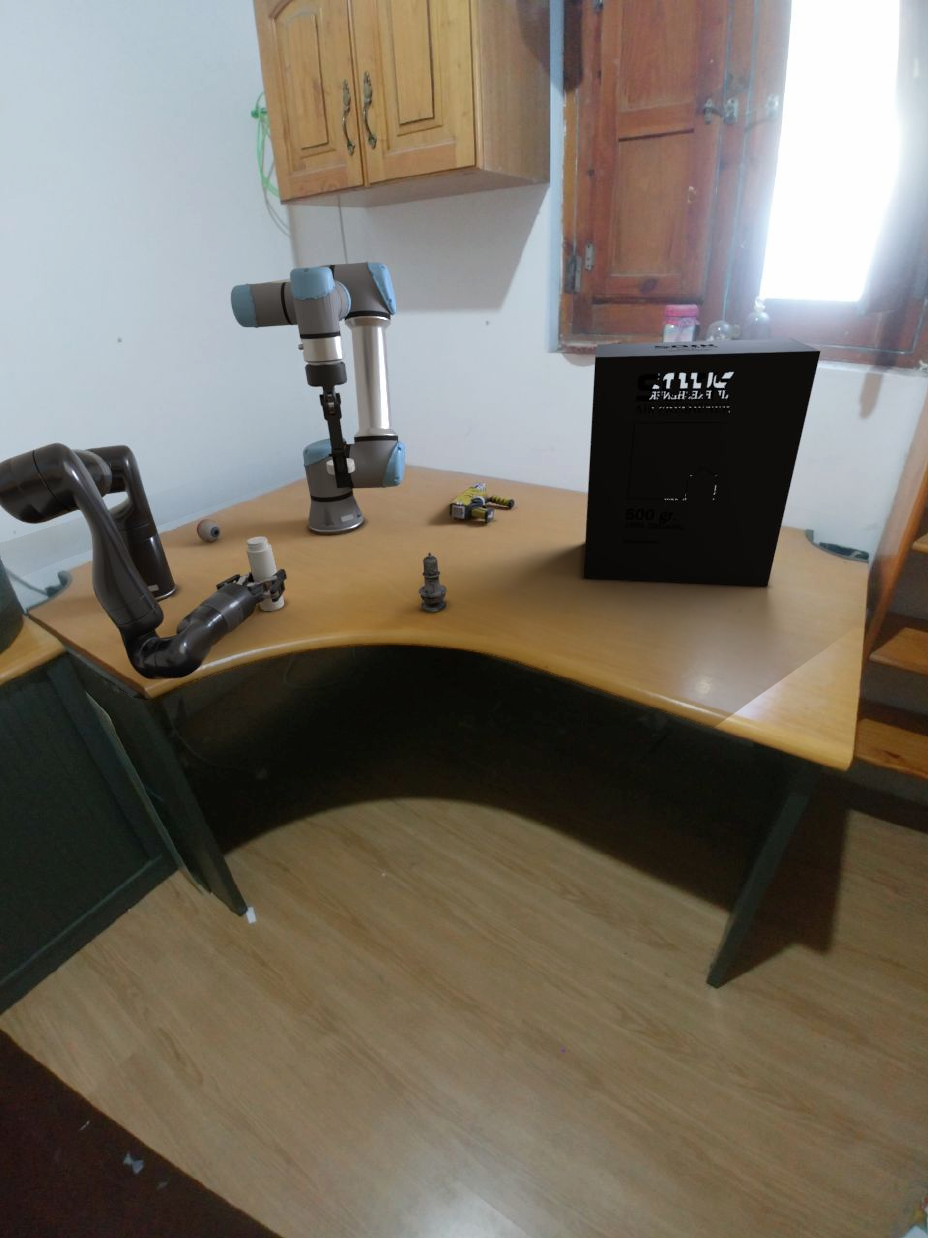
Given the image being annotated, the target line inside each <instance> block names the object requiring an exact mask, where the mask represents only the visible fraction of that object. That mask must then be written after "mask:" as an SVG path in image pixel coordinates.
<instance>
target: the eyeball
mask: <svg viewBox="0 0 928 1238" xmlns="http://www.w3.org/2000/svg"><path fill="white" fill-rule="evenodd" d="M196 534H197V536H198V538H199V539H201V540H202V541H204V542H208V543H209V542H211V543H212V542H215V541H216V540H218V539H219V538H220V536H221V534H222V529H221V526H220V524H219V523H218V522H217V521H216V520H214V519H211V518H206V519H203V520H200V521H199V522H198V524H197V526H196Z"/></svg>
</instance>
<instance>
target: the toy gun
mask: <svg viewBox="0 0 928 1238" xmlns="http://www.w3.org/2000/svg"><path fill="white" fill-rule="evenodd" d="M486 491H487V484H486V483H485V482H480V481H477V482H475V483H474V484H473V485H472V486H469V487H468V488H467V489H466V490H465V491H463V492H462V493H461V494H459V496H457V497H456V498H455V499H453V500H452V501H451V502H450V503H449V505H448V506H449V507H448V516H450V518H453V519H454V520H456V519H457V520H459V521H460V520H461V519H462V520H469V519H473V518H478V519H482V520H484V523H489V522H490V521H492V520H494V516H495V515H494V514H495V507H492V506H491V507H489V508H488V506H487V505H488V504H490V503H491V504H495V505H498V506H503V507H506V508H509V509H512V508H514V506H515V500H514V499H513V498H507V497H503V496H499V495H495V494H492V495H491V496H490V497H489V495H488V493H487V492H486Z"/></svg>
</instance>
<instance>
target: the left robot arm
mask: <svg viewBox="0 0 928 1238" xmlns="http://www.w3.org/2000/svg"><path fill="white" fill-rule="evenodd" d="M118 493H126V495H127V497H126V498H125V499H124V500H122V501H121V502H120V503H118V504H116V505H114V506H112V507H110V508H109V509H108V506H107V505H106V503H105V501H104V498H105V497H106V495H112V494H118ZM0 508H2V509H3V510H4V511H5V512H6V513H8V515H10V516H11V517H13V518H14V519H15V520H17V521H20V522H22V523H24V524H25V523H26V524H30V525H31V524H32V525H37V524H43V523H48V522H49V521H52V520H54V519H57V518H60V517H62V516H64V515H67V514H70V513H73V512H76V511H80V512H81V514H82V515H83V518H84V519H85V521H86V523H87V526H88V529H89V531H90V535H91V546H92V563H91V582H92V588H93V592H94V595H95V598H96V599H97V601H98V602H99V604H100V606H101V607H102V609H103V610H104V612H105V613H106V614H107V616H108V617H109V619H110V620H111V621H112V623H113V624H114V625H115V627H116V628H117V630H118V631H119V634H120V637H121V642H122V645H123V647H124V650H125V653H126V656H127V658H128V661H129V663H130V665H131V667H132V668H133V670H134V671H135V672H136V673H137V674H139V676H140V677H143V678H144V679H147V680H151V681H160V680H170V679H171V680H172V679H182V678H185V677H188V676H190V675H191V674H193V673H194V672H196V671H197V670H198V669H199V668H201V666H202V665H203V663H204V661H205V660H206V658H207V657H208V655H209V653H210V651H211V650H212V648H213V647H214V646H215V645H216V644H217V643H219V642H220V641H221V640H222V639H223V638H224V637H226V636H227V635H229V634H231V633H232V632H233V631H234V630H236V629H237V628H238V627H239V626H240V625H241V624H242V623H244V622H245V621H246V620H247V619H248V618H249V617H250V616H252V615H253V614H254V612H255V610H256V608H257V605H258V604H260V603H259V602H262V601H263V600H264V599H270V598H272V602H277V601H278V600H279V599H280V597H281V595H282V596H283V594H284V592H285V591H286V585H285V582H284V581H286V580H287V579H288V576H287V572H286V570H285V568H280V569H279V570H277V572H276V573H275V574H274V575H273V576H272V577H270V578H268V579H264V578H263V579H260V580H258V581H256V582H254V579H253V575H252V571H251V570H250V572H249V573H244V574H242V575H241V574H240V573H239V574H238V573H237V574H234V575H233V576H230V577H229V578H226V579H225V580H223V581H221V582H219V583H217V584H215V588H216V591H214V593H212V594H211V595H209V596H208V597H207V598H205V599H204V600H203V601H202V602H201V603H200V604H199V605H198V606H197V607H196V608H195V609H193V610H192V611H191V612H190V613H188V614H187V615H185V616H184V617H183V618H182V619H181V620H180V621H179V622H178V624H177V626H176V629H175V633H176V634H175V635H171V636H163V637H161V636H159V634H158V632H157V630H156V629H158V628H159V627H160V626H161V625H162V624H163V622H164V620H165V613H164V611H163V609H162V606H161V605H160V604H159V602H160V601H163V600H165V599H168V598H169V597H171V596H173V595H174V594H176V592H177V584H176V583H175V581H174V580H175V579H174V578H173V574H172V572H171V568H170V565H169V562H168V558H167V556H166V553H165V550H164V547H163V543H162V541H161V538H160V534H159V532H158V531H159V530H158V529H157V526H156V522H155V519H154V516H153V514H152V510H151V506H150V503H149V501H148V497H147V494H146V491H145V488H144V484H143V479H142V475H141V473H140V468H139V465H138V461H137V459H136V456H135V454H134V452H133V450H132V449H131V448H130V447H129V446H128V445H126V444H115V445H107V446H100V447H92V448H85V449H81V448H75V449H73V448H72V449H71V448H70V447H69V446H68V445H66V444H64V443H61V442H54V443H49V444H46V445H43V446H40V447H38V448H35V449H32V450H29V451H26V452H24V453H21V454H17V455H15V456H12V457H9V458H7V459H5V460H1V462H0ZM270 582H272V585H273V586H271V587H270V585H269V584H270ZM262 584H263V586H262ZM263 587H264V589H263Z"/></svg>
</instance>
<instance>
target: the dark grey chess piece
mask: <svg viewBox="0 0 928 1238" xmlns="http://www.w3.org/2000/svg"><path fill="white" fill-rule="evenodd" d="M422 559H423V560H422V566H423V572H422V574H421V575H422V576H423V579H424V580H423V581H424V585H423V586H421V587H419V589H418V591H417V592H418V594H419V595H420V598H421V599H422V601H423V602H422V603H421V609H422V610H423V611H425V612H431V613H434V612H440V611H442V610H444V609H446V608H447V605H448V604H447V602H446V601H445V597H446V595H447V592H448V587H446V586H445V585H443V584H441V582H440V575H441V571H440V570H439V563H438V562H439V561H438V559H437V557H435V556H433V555H432V553H431V552H430V551H429V552H428V553H427V556H424V558H422Z"/></svg>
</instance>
